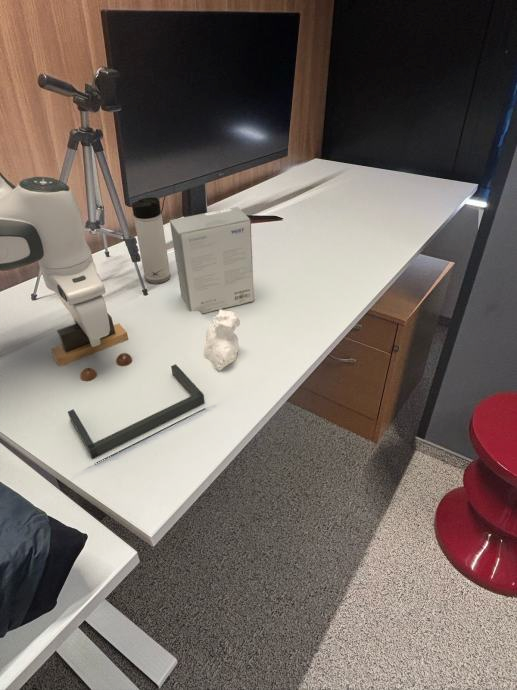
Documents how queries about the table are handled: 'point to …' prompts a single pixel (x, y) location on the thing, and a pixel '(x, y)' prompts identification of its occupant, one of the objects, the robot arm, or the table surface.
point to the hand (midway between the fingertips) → (87, 334)
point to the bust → (222, 339)
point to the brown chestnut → (88, 374)
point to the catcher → (145, 424)
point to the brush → (84, 342)
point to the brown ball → (124, 359)
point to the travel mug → (151, 240)
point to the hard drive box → (214, 259)
